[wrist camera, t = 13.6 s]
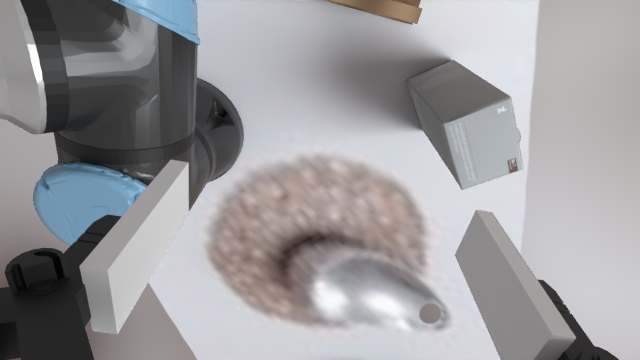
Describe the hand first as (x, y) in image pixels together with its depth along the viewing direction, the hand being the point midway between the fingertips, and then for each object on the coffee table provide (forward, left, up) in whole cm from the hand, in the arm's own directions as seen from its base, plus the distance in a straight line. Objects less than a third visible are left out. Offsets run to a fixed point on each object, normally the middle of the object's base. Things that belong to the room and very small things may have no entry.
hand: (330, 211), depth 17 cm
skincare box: (+15, -1, -34) cm, 37 cm away
